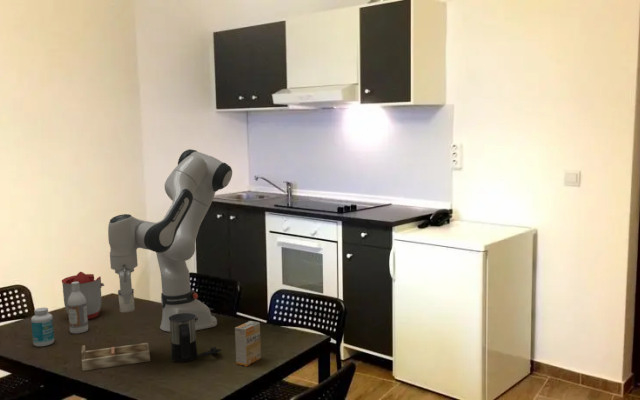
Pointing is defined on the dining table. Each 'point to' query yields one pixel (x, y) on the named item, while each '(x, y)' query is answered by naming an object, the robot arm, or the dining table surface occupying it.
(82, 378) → the dining table surface
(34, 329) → the pill bottle
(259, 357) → the supplement box
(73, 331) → the bath foam
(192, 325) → the milk frother
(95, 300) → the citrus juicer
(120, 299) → the cream jar
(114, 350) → the block
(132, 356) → the wooden tray
